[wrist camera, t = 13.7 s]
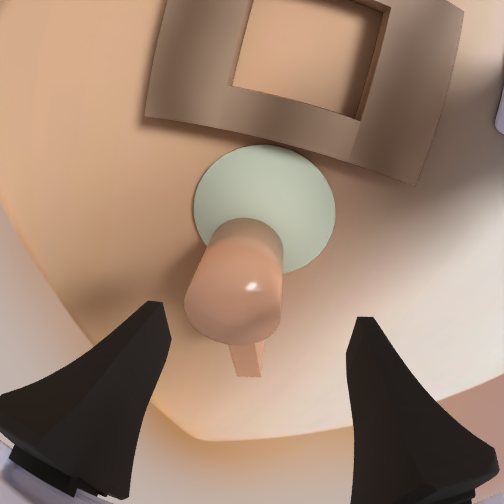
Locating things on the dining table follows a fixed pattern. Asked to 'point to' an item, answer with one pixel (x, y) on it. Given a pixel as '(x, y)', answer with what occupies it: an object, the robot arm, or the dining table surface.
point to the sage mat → (269, 199)
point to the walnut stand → (305, 115)
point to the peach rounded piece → (239, 291)
